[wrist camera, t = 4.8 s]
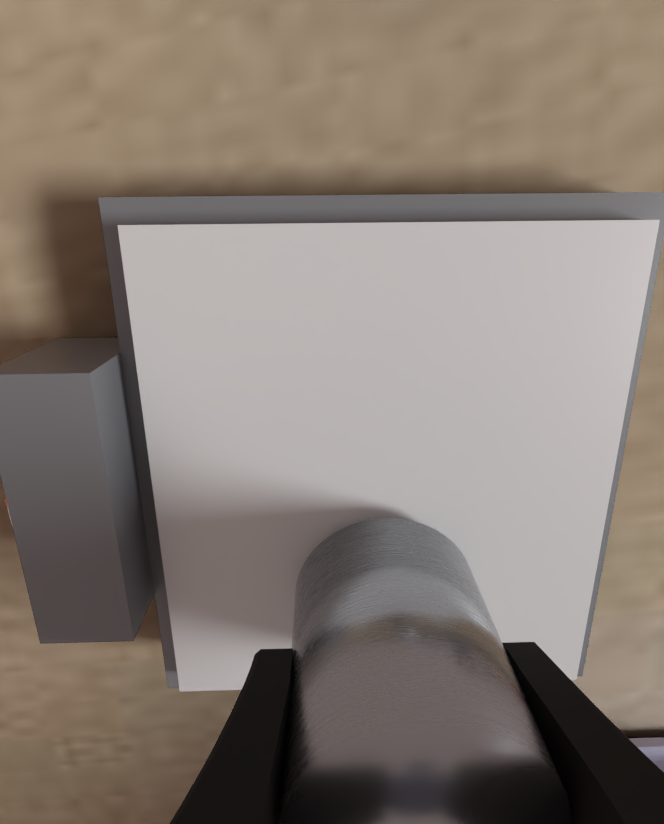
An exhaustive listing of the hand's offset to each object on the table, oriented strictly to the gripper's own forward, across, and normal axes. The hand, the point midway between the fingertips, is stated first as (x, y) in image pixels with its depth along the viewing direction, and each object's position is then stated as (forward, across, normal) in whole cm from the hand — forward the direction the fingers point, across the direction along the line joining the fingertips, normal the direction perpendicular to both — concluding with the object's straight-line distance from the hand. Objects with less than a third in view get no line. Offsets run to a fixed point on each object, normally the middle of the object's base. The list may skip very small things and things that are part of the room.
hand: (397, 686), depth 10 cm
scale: (+5, +1, -3) cm, 6 cm away
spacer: (+2, 0, 0) cm, 2 cm away
